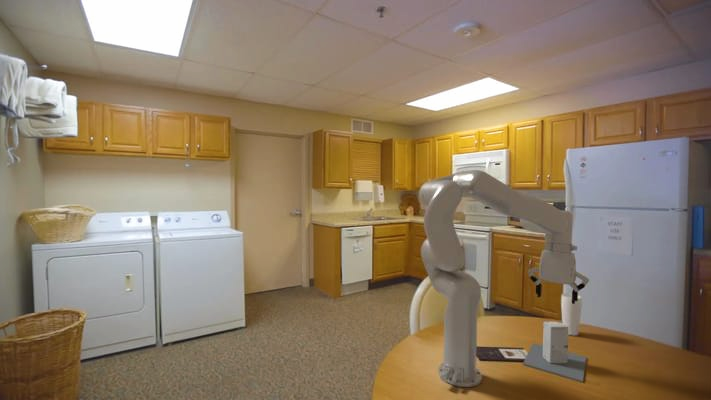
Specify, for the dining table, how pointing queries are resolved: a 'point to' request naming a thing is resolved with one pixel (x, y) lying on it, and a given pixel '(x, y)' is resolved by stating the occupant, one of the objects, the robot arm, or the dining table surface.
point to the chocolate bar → (501, 354)
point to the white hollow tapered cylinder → (571, 313)
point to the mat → (556, 364)
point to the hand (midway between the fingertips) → (555, 299)
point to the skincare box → (555, 342)
